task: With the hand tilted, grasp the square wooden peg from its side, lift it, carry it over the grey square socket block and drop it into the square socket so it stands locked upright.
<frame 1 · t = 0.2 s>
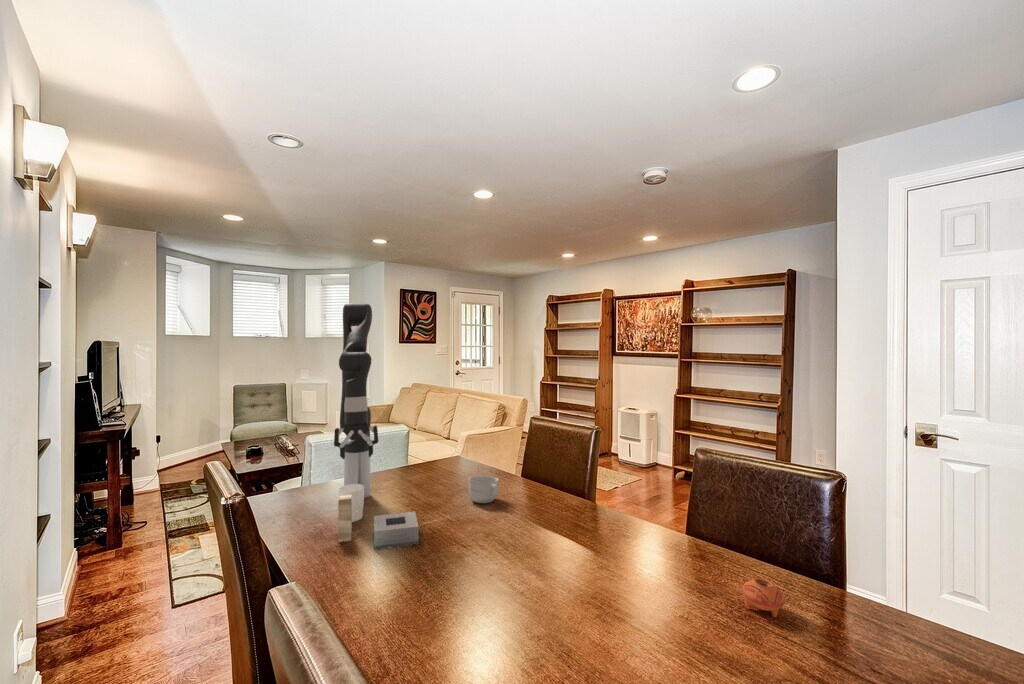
hand: (356, 457, 155), 18 cm above the table, tool pointing down, fingers open, 8 cm apart
grey square socket block: (395, 538, 131), on the table
square wooden peg: (345, 538, 131), on the table
white cup: (351, 519, 146), on the table
teacup: (485, 502, 162), on the table
footed terracotta jar: (762, 611, 95), on the table
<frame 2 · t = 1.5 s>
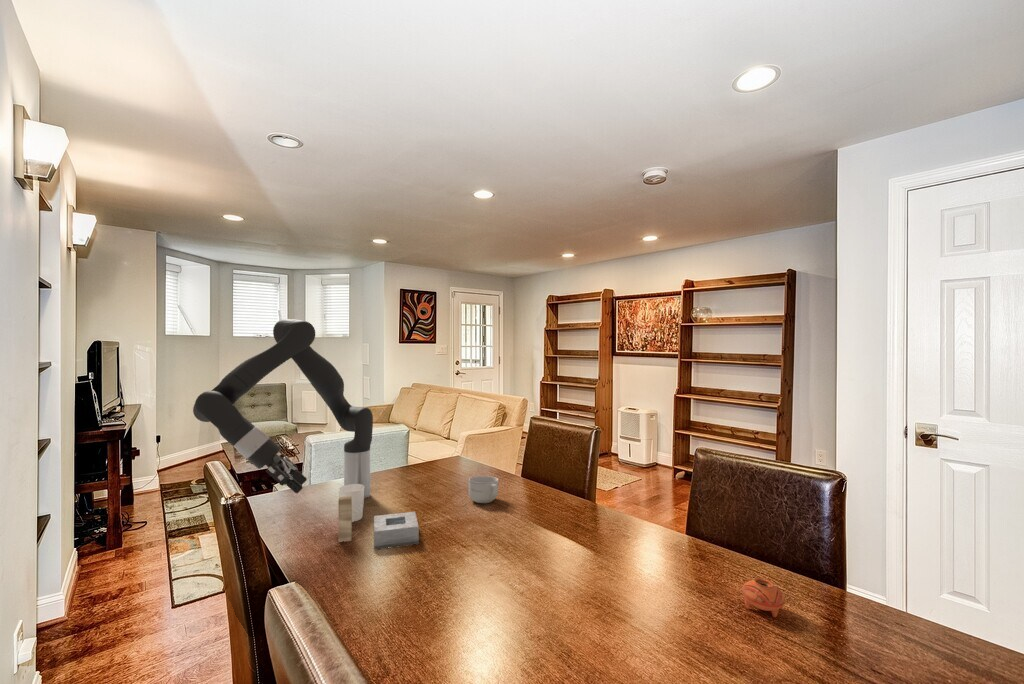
hand: (302, 486, 127), 16 cm above the table, tool tilted 45°, fingers open, 8 cm apart
nothing on the table moved.
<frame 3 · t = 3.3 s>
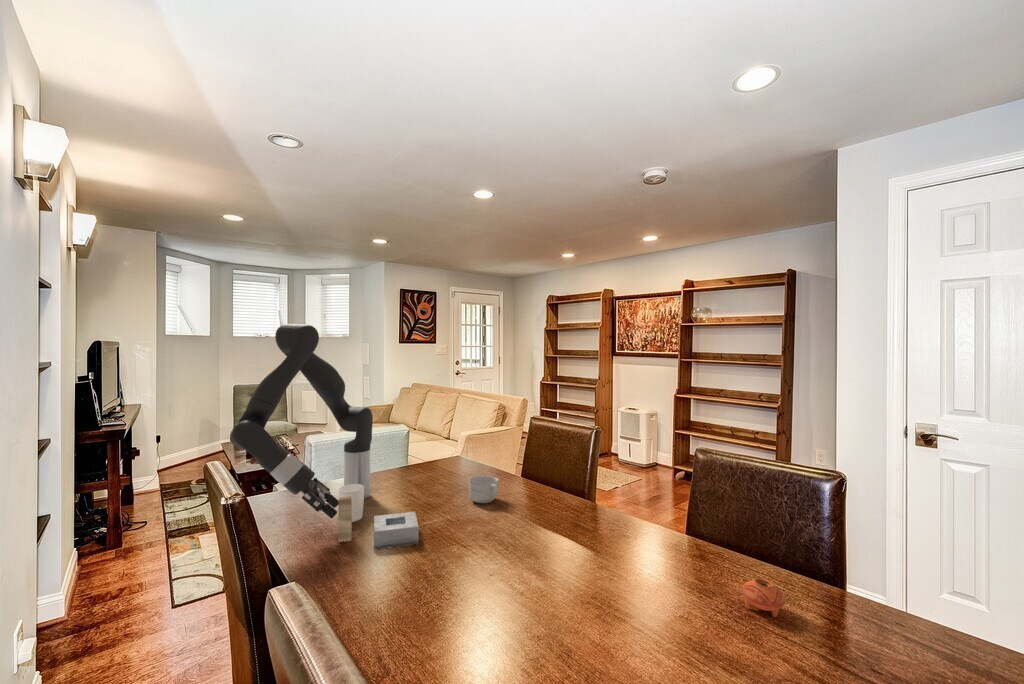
hand: (336, 510, 130), 9 cm above the table, tool tilted 45°, fingers open, 8 cm apart
nothing on the table moved.
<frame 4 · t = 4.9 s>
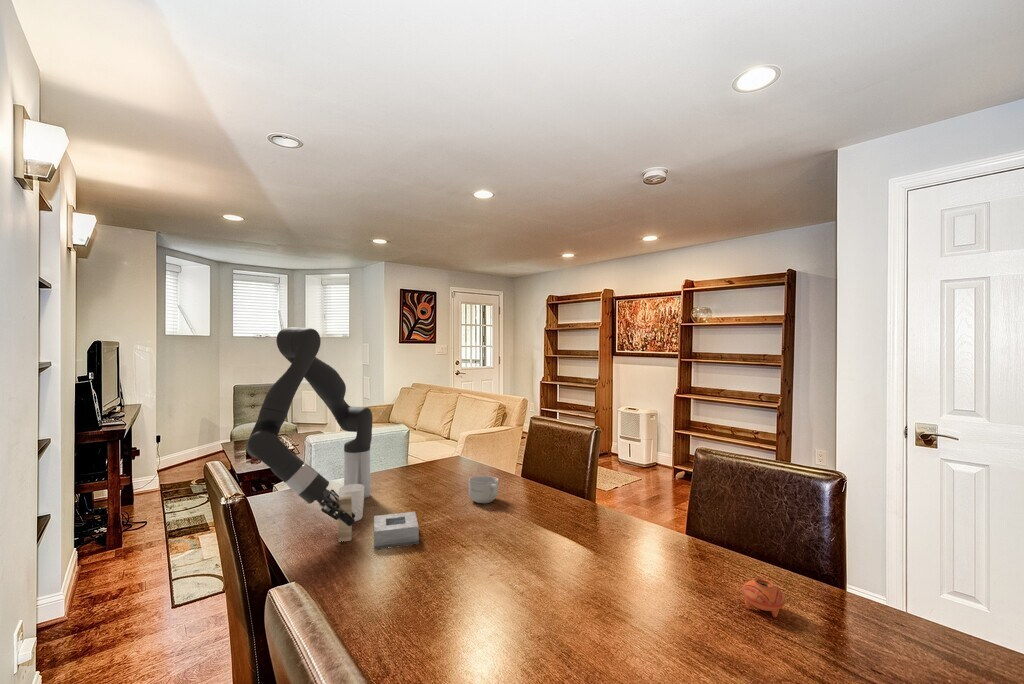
hand: (352, 520, 132), 5 cm above the table, tool tilted 45°, fingers closed on square wooden peg, 3 cm apart
square wooden peg: (345, 538, 131), on the table, touching gripper
everything else where it was.
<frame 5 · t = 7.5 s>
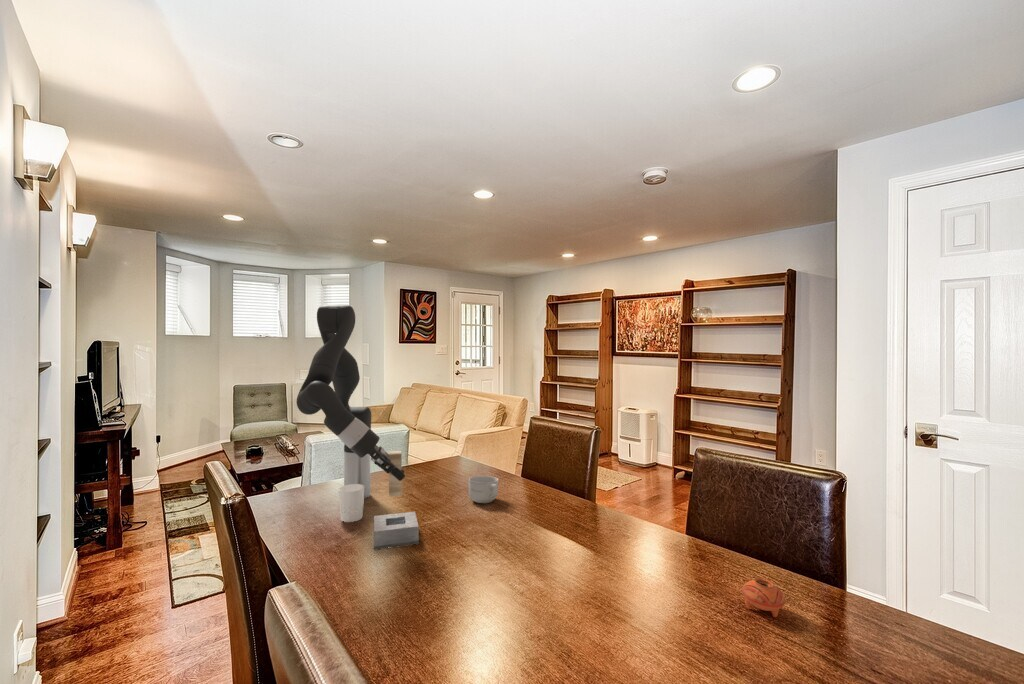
hand: (402, 476, 132), 18 cm above the table, tool tilted 45°, fingers closed on square wooden peg, 3 cm apart
square wooden peg: (395, 494, 131), point 13 cm above the table, touching gripper
everything else where it was.
when the fingers open (7 cm above the table, at t = 10.1 s): square wooden peg drops 1 cm, resting on grey square socket block.
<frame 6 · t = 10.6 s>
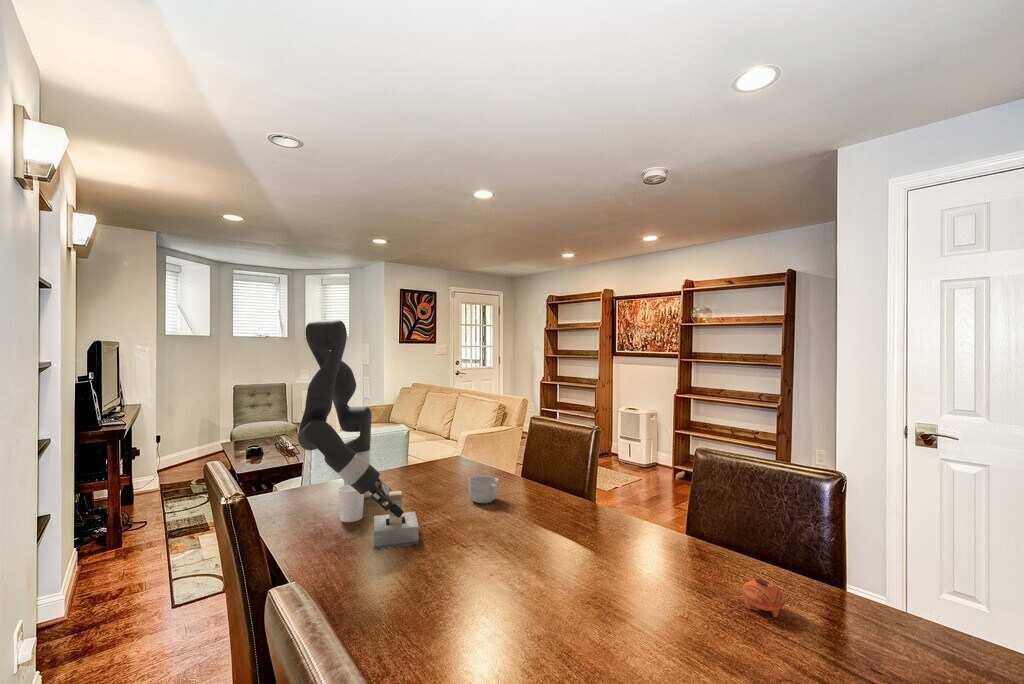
hand: (400, 509, 132), 8 cm above the table, tool tilted 45°, fingers open, 8 cm apart
square wooden peg: (395, 534, 131), point 1 cm above the table, touching grey square socket block
everything else where it was.
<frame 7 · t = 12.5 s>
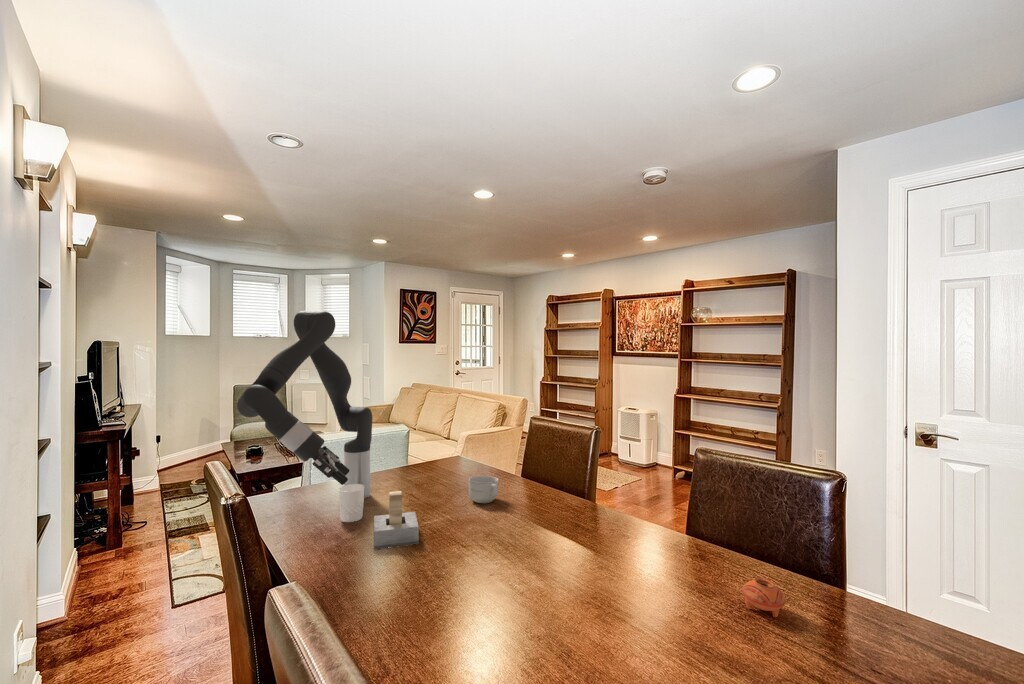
hand: (346, 477, 129), 18 cm above the table, tool tilted 45°, fingers open, 8 cm apart
nothing on the table moved.
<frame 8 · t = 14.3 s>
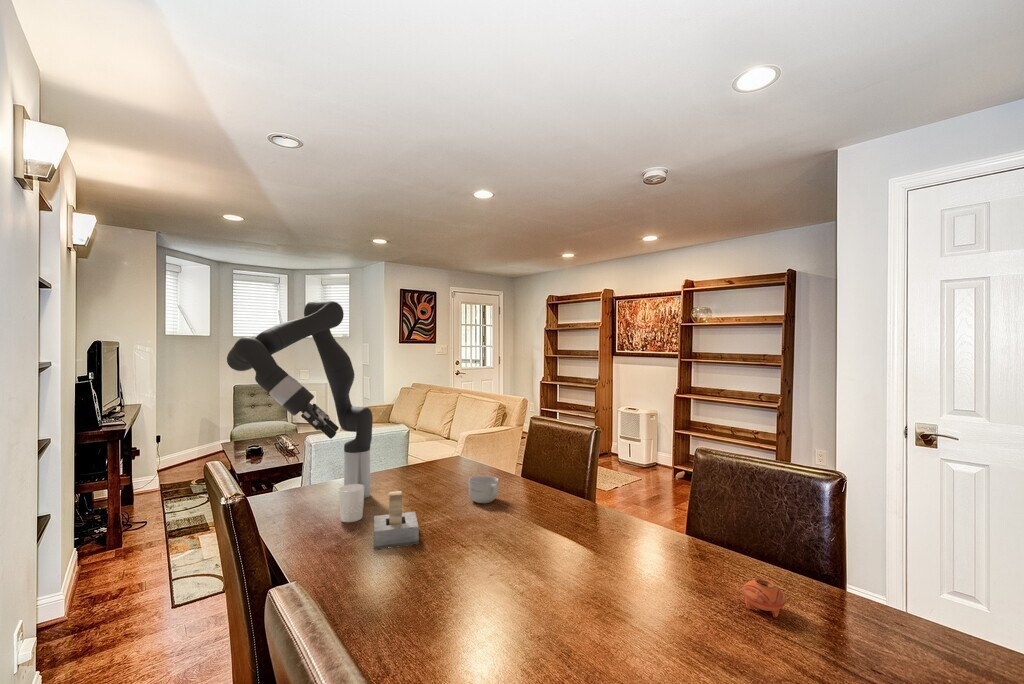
hand: (335, 433, 130), 31 cm above the table, tool tilted 45°, fingers open, 8 cm apart
nothing on the table moved.
at the end: square wooden peg 0.1 cm off-centre on the grey square socket block, point 1.0 cm above the grey square socket block's base; square wooden peg tilted 0°; the gripper is holding nothing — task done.
